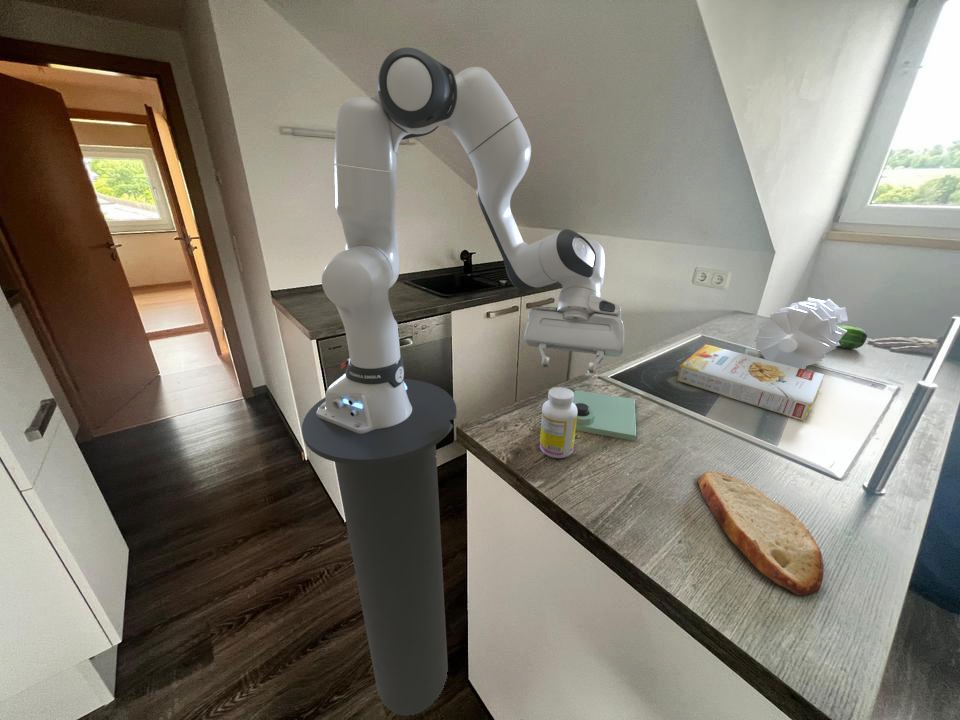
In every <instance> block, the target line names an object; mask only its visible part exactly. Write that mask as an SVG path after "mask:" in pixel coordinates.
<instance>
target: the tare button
mask: <svg viewBox="0 0 960 720" xmlns="http://www.w3.org/2000/svg"><path fill="white" fill-rule="evenodd" d="M575 405H576V407H577V410H578V412H577V416H587V415H588V409H589V407H588V405H586V404H583V403H577V404H575Z"/></svg>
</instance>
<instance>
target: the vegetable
mask: <svg viewBox="0 0 960 720" xmlns="http://www.w3.org/2000/svg"><path fill="white" fill-rule="evenodd" d="M838 327H839V328H841V329H844V330H846V331H847V332H846V333H845V334H844V335H843V336H842V338H841V339H840V340H839V341H838V342H839V344H840V345H839V346H836V348H839V349H849V350H855V349H859V348H861V347H863V345H865V343H866V341H867V339H868V333H867V332H866V331H865V330H864V329H862V328H860V327H856V326H851V325H838Z"/></svg>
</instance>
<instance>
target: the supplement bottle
mask: <svg viewBox="0 0 960 720" xmlns="http://www.w3.org/2000/svg"><path fill="white" fill-rule="evenodd" d="M574 393H575V392H574V391H573V390H571V389H569V388H567V387H563V386H557V387H556V386H555V387H552V388H550V389H549V390H548V392H547V394H548V395H547V400H546V401H544V402H543V404H542V406H541V407H542V408H541V419H540V421H541V422H540V435H539V448H540V451H541V452H542V453H543V454H544V455H546V456H548V457H549V458H552V459H553V458H554V459H564V458H567V457H569V456H571V455H572V454H573V452H574V448H575V447H574V446H575V438H576V431H577V430H576V421H577V412H578V410H577V407H576V405H575V404H574V403H573V400H574Z"/></svg>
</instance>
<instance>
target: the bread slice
mask: <svg viewBox="0 0 960 720" xmlns="http://www.w3.org/2000/svg"><path fill="white" fill-rule="evenodd" d="M697 485H698V486H699V490H700V492H701V496H702V497H703V498H704V501H705V503H706V504H707V505H708V506H709V508H710V510H711V513H713V516H714V517H715V519H716V520H717V522H718V524H719V525H720V527H721V528H722V530H723V532H724V533H725V534H726V535H727V537H728V538H729V540H730V541H731V543H732V544H733V545H734V546H735V547H737V549H739V550H740V552H741V553H742V554H743V556H744V557H746V559H747V560H748V561H749V562H750V563H751V564H752V565H753V567H755V568H756V569H757V570H758V571H759V572H760V573H761V574H763V575H764V576H766V578H768V579H769V580H770V581H772V582H773V583H775V584H776V585H778V586H780V587H782V588H785V589H786V590H788V591H790V592H791V593H793V594H794V595H796V596H801V597H802V596H807V595H809V594H812V593H815V592H818V591H819V590H820V588H821V587H822V584H823V583H822V582H823V579H824V568H825V567H824V566H825V565H824V559H823V554H822V552H821V549H820V547H819V545H818V543H817V541H816V539H815V538H814V537H813V535H812V533H811V532H810V531H809V529H807V528H806V526H805V525H804V523H803V522H801V521H800V520H799V519H798V518H797V517H796V516H795V515H794V514H793V513H792V512H791V511H790V510H788V509H787V508H786V507H784V506H782V505H781V504H779V503H777V502H776V501H774V500H773V499H772V498H770V497H768V496H767V494H765V493H764V492H762V491H760V490H759V489H757V488H755V487H754V486H752V485H750V484H749V483H746V482H745V481H742V480H740V479H739V478H737V477H733V476H731V475H728V474H724V473H721V472H714V471H706V472H705V473H703V475H701V476H700V477H699V478H698V479H697Z"/></svg>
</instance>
